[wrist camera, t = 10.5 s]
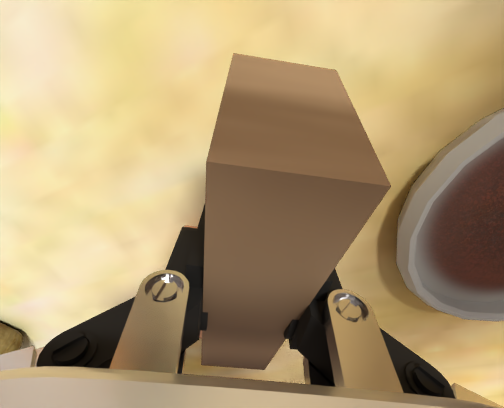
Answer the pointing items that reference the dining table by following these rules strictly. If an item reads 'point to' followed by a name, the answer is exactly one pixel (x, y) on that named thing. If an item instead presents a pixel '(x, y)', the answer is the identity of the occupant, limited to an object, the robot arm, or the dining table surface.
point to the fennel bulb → (9, 339)
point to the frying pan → (458, 226)
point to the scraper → (279, 202)
